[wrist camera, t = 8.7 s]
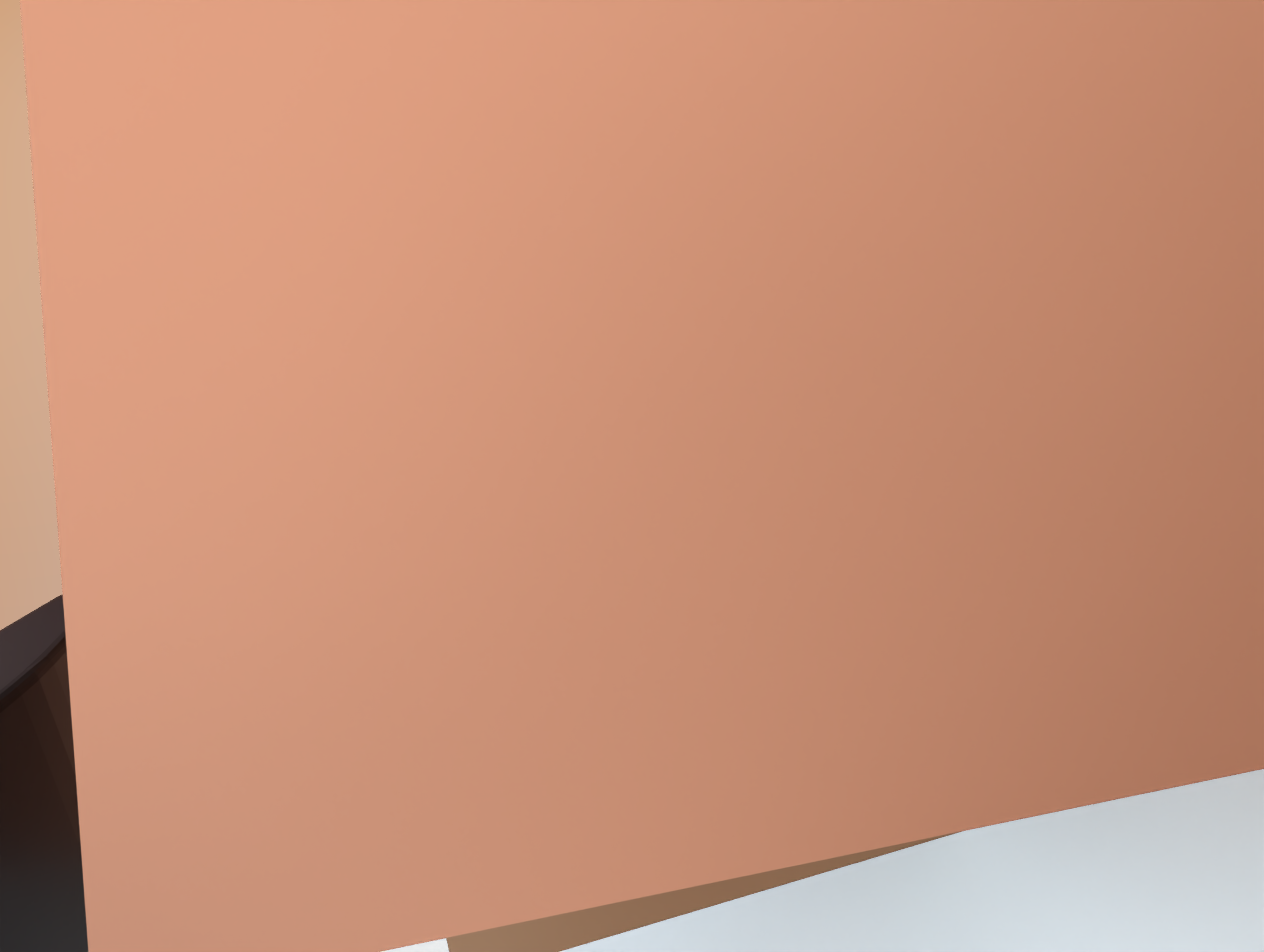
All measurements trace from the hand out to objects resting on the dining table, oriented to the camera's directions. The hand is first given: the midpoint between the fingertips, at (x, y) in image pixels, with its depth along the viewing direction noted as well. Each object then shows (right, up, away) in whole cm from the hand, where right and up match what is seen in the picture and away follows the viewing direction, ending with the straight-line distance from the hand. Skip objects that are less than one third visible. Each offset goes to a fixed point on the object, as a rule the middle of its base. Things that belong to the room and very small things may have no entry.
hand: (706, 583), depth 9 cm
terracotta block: (0, -1, +8) cm, 8 cm away
